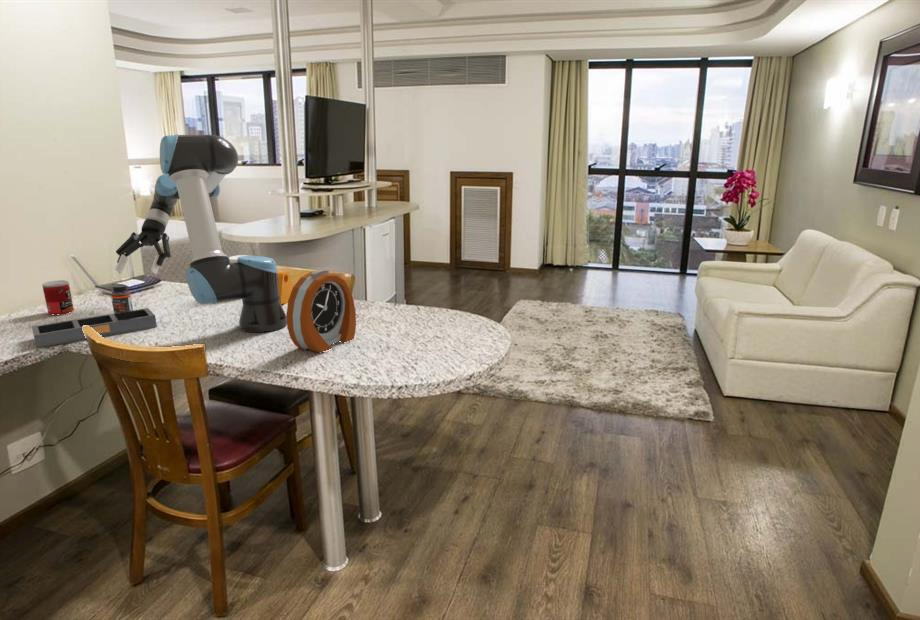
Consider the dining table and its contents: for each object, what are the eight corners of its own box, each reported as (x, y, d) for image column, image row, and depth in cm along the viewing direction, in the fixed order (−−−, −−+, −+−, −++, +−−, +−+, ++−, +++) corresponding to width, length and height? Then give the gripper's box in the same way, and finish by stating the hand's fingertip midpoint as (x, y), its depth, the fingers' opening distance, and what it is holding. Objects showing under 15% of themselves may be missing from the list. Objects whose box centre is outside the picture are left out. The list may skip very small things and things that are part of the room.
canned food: (65, 315, 210) (59, 285, 207) (43, 315, 210) (36, 285, 207) (79, 309, 218) (73, 280, 215) (57, 309, 218) (51, 280, 215)
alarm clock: (314, 357, 170) (307, 280, 164) (288, 352, 175) (281, 276, 168) (362, 335, 189) (358, 265, 182) (338, 330, 193) (333, 262, 187)
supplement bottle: (113, 320, 205) (107, 288, 202) (116, 315, 211) (111, 284, 207) (132, 318, 207) (127, 286, 204) (135, 313, 212) (130, 282, 209)
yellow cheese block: (277, 298, 232) (274, 267, 229) (294, 298, 231) (291, 268, 227) (263, 305, 222) (260, 274, 218) (281, 306, 221) (278, 274, 217)
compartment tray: (157, 327, 197) (155, 315, 196) (36, 348, 178) (33, 335, 177) (149, 319, 206) (148, 308, 205) (34, 338, 187) (31, 326, 186)
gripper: (191, 230, 226) (173, 278, 216) (130, 229, 229) (110, 276, 219) (181, 218, 219) (162, 267, 209) (119, 217, 222) (97, 265, 213)
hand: (135, 272), depth 214 cm, fingers open, 13 cm apart
